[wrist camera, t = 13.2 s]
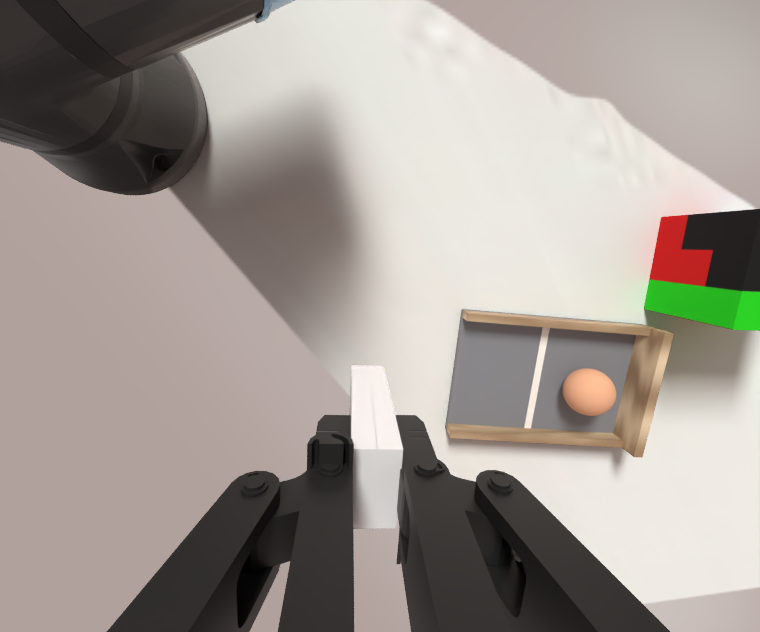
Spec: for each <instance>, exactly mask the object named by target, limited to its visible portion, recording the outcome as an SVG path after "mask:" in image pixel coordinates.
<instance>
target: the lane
mask: <svg viewBox="0 0 760 632" xmlns="http://www.w3.org/2000/svg"><path fill="white" fill-rule="evenodd" d="M463 310H465V309H462V311H461V318H460V326H459V333H458V340H457V347H456V354H455V361H454V368H453V376H452V383H451V390H450V397H449V404H448V411H447V419H446V426H445V428H446V430H447V423H449V424H466V425H483V426H500V427H516V428H533V429H550V430H567V431H584V432H601V433H613V430H614V426H615V422H616V417H617V413H618V409H619V405H620V401H621V396H622V392H623V388H624V384H625V379H626V375H627V371H628V367H629V362H630V358H631V354H632V350H633V346H634V341H635V337H636V335H632V334H620V333H608V332H595V331H583V330H571V329H559V328H546V327H534V326H522V325H510V324H497V323H485V322H473V321H466V320H465V319H464V318H462V316H463ZM466 311H477V310H466ZM478 312H489V311H478ZM490 313H501V312H490ZM502 314H512V313H502ZM514 315H524V314H514ZM526 316H536V315H526ZM538 317H548V316H538ZM550 318H560V317H550ZM562 319H572V318H562ZM574 320H584V319H574ZM586 321H596V320H586ZM598 322H608V321H598ZM609 323H620V322H609ZM621 324H631V323H621ZM633 325H643V324H633ZM645 326H646V325H645ZM583 368H590V369H595V370H598V371H600V372H602V373H604V374H605V375H607V376H608V377H609V378H610V379H611V381H612V382H613V384H614V386H615V389H616V400H615V403H614V405H613V406H612V407H611V409H610V410H608V411H607V412H605V413H603V414H601V415H596V416H588V415H583V414H580V413H578V412H576V411H575V410H573V409H572V408H571V407H570V406H569V405H568V404H567V402H566V401H565V399H564V396H563V383H564V381H565V379H566V378H567V376H568V375H569V374H571V373H572V372H574V371H576V370H578V369H583Z"/></svg>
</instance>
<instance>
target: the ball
mask: <svg viewBox="0 0 760 632" xmlns="http://www.w3.org/2000/svg"><path fill="white" fill-rule="evenodd" d="M563 396H564V399H565V401H566V402H567V404H568V405H569V406H570V407H571V408H572V409H573V410H575V411H576V412H578V413H580V414H583V415H588V416H596V415H601V414H603V413H605V412H607V411H608V410H610V409H611V407H612V406H613V405H614V403H615V400H616V389H615V386H614V384H613V382H612V381H611V379H610V378H609V377H608V376H607V375H605V374H604V373H602V372H600V371H598V370H595V369H590V368H583V369H578V370H576V371H574V372H572V373H571V374H569V375H568V376H567V378H566V379H565V381H564V383H563Z"/></svg>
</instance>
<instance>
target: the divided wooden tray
mask: <svg viewBox="0 0 760 632" xmlns="http://www.w3.org/2000/svg"><path fill="white" fill-rule="evenodd" d="M462 318H464V319H465V320H466V321H473V322H485V323H497V324H510V325H522V326H534V327H546V328H559V329H571V330H583V331H595V332H608V333H620V334H632V335H636V337H635V341H634V346H633V350H632V354H631V358H630V362H629V367H628V371H627V375H626V379H625V384H624V388H623V392H622V396H621V401H620V405H619V409H618V413H617V417H616V422H615V426H614V430H613V433H601V432H584V431H567V430H550V429H533V428H516V427H500V426H483V425H466V424H449V423H447V432H448V434H449V436H450V438H458V439H476V440H494V441H511V442H529V443H547V444H565V445H583V446H600V447H618V448H623V449H624V450H626V451H627V452H628V453H629V454H631V455H632V456H633V457H643V453H644V449H645V445H646V441H647V437H648V433H649V429H650V425H651V422H652V418H653V414H654V410H655V406H656V402H657V398H658V394H659V390H660V387H661V383H662V379H663V375H664V371H665V367H666V363H667V359H668V355H669V352H670V348H671V344H672V340H673V336H674V333H671V332H667V331H664V330H660V329H657V328H653V327H650V326H645V325H633V324H621V323H609V322H598V321H586V320H574V319H562V318H550V317H538V316H526V315H514V314H502V313H490V312H478V311H466V310H463V316H462Z"/></svg>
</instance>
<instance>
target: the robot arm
mask: <svg viewBox="0 0 760 632" xmlns="http://www.w3.org/2000/svg"><path fill="white" fill-rule="evenodd" d="M292 1H294V0H0V141H1V142H4V143H8V144H11V145H15V146H19V147H22V148H26V149H30V150H33V151H34V152H35V153H37V154H38V155H40V156H41V157H42V158H44V159H45V160H47V161H48V162H49V163H51V164H52V165H54V166H55V167H56V168H58V169H59V170H61V171H62V172H64V173H65V174H66V175H68V176H70V177H71V178H73V179H75V180H77V181H79V182H81V183H83V184H85V185H88V186H90V187H93V188H96V189H100V190H104V191H109V192H113V193H118V194H124V195H145V194H150V193H154V192H158V191H160V190H163V189H165V188H167V187H169V186H171V185H173V184H174V183H176V182H177V181H179V180H180V179H181V178H182V177H183V176H184V175H185V174H186V173H187V172H188V171H189V170H190V169H191V167H192V166H193V165H194V163H195V162H196V160H197V158H198V156H199V154H200V152H201V149H202V146H203V143H204V139H205V134H206V126H207V113H206V105H205V100H204V95H203V92H202V89H201V86H200V83H199V81H198V79H197V76H196V74H195V73H194V71H193V69H192V67H191V66H190V64H189V63H188V61H187V60H186V58H185V57H184V56H183V55H182V53H181V51H183V50H186V49H188V48H190V47H193V46H195V45H197V44H200V43H202V42H204V41H207V40H209V39H212V38H214V37H216V36H219V35H221V34H223V33H226V32H228V31H231V30H233V29H235V28H238V27H240V26H242V25H245V24H247V23H249V22H252V21H255V22H256V23H259V22H262V21H264V20H266V19H267V18H268V16H269V14H270V12H272V11H274V10H276V9H278V8H280V7H282V6H284V5H286V4H288V3H290V2H292ZM307 448H308V449H307V471H306V472H305V473H303V474H302V475H300V476H298V477H296V478H294V479H291V480H287V481H283V482H279V478H278V477H276V475H274V474H273V473H269V472H267V471H254V472H250V473H246V474H244V475H242V476H240V477H238V478H237V479H236V480H235V481H233V482H232V483H231V484H230V485H229V487H228V488H227V489H226V490H225V492H224V493H223V494H222V495H221V496H220V497H219V499H218V500H217V501H216V502H215V503H214V505H213V506H212V507H211V508H210V509H209V511H208V512H207V513H206V514H205V515H204V516H203V518H202V519H201V520H200V521H199V523H198V524H197V525H196V526H195V527H194V528H193V530H192V531H191V532H190V533H189V535H188V536H187V537H186V538H185V539H184V540H183V542H182V543H181V544H180V545H179V546H178V548H177V549H176V550H175V551H174V552H173V553H172V555H171V556H170V557H169V558H168V560H167V561H166V562H165V563H164V564H163V566H162V567H161V568H160V569H159V570H158V572H157V573H156V574H155V575H154V576H153V577H152V579H151V580H150V581H149V582H148V583H147V585H146V586H145V587H144V588H143V589H142V590H141V592H140V593H139V594H138V595H137V596H136V598H135V599H134V600H133V601H132V602H131V604H130V605H129V606H128V607H127V608H126V610H125V611H124V612H123V613H122V614H121V616H120V617H119V618H118V619H117V620H116V622H115V623H114V624H113V625H112V626H111V628H110V629H109V630H108V631H107V632H249V631H250V629H251V627H252V625H253V623H254V621H255V619H256V617H257V615H258V613H259V611H260V609H261V606H262V604H263V602H264V600H265V598H266V596H267V594H268V592H269V589H270V588H271V586H272V583H273V581H274V579H275V577H276V575H277V573H278V571H279V567H280V564H282V563H285V562H288V561H290V567H289V573H288V578H287V584H286V589H285V595H284V600H283V606H282V612H281V617H280V623H279V628H278V632H354V574H353V573H354V572H353V571H354V566H353V565H354V564H353V563H354V562H353V529H366V528H367V529H368V528H369V529H371V528H372V529H373V528H397V519H399V526H400V531H399V542H398V543H399V544H398V554H397V564H400V563H401V564H402V571H403V577H404V584H405V591H406V598H407V605H408V612H409V619H410V626H411V632H670V631H669V630H668V629H667V628H666V627H665V626H664V625H663V624H662V623H661V622H660V621H659V620H658V619H657V618H656V617H655V616H654V615H653V614H652V613H651V612H650V611H649V610H648V609H647V608H646V607H645V606H644V605H643V604H642V603H641V602H640V601H639V600H638V599H637V598H636V597H635V596H634V595H633V594H632V593H631V592H630V591H629V590H628V589H627V588H626V587H625V586H624V585H623V584H622V583H621V582H620V581H619V580H618V579H617V578H616V577H615V576H614V575H613V574H612V573H611V572H610V571H609V570H608V569H607V568H606V567H605V566H604V565H603V564H602V563H601V562H600V561H599V560H598V559H597V558H596V557H595V556H594V555H593V554H592V553H591V552H590V551H589V550H588V549H587V548H586V547H585V546H584V545H583V544H582V543H581V542H580V541H579V540H578V539H577V538H576V537H575V536H574V535H573V534H572V533H571V532H570V531H569V530H568V529H567V528H566V527H565V526H564V525H563V524H562V523H561V522H560V521H559V520H558V519H557V518H556V517H555V516H554V515H553V514H552V513H551V512H550V511H549V510H548V509H547V508H546V507H545V506H544V505H543V504H542V503H541V502H540V501H539V500H538V499H537V498H536V497H535V496H534V495H533V494H531V493H530V492H529V491H528V490H527V489H526V488H525V487H524V486H523V485H522V484H521V483H520V482H519V481H518V480H517V479H516V478H514V477H513V476H511V475H509V474H507V473H504V472H501V471H496V470H486V471H484V472H481V473H480V474H479V475H478V476H477V478H476V482H474V481H469V480H465V479H461V478H458V477H455V476H453V475H451V474H450V472H449V470H448V468H447V467H446V465H445V464H444V463H443V462H441V461H440V460H438V459H437V457H436V455H435V452H434V449H433V447H432V444H431V441H430V438H429V436H428V433H427V430H426V428H425V425H424V422H423V421H421V420H420V419H419V418H418V417H417V416H416V415H395V412H394V407H393V403H392V399H391V394H390V390H389V386H388V381H387V377H386V373H385V368H384V366H364V365H352V368H351V392H350V415H324V416H323V417H322V419H321V420H320V421H319V422H318V426H317V432H316V435H315V436H314V437H312V438H311V439H310V441H309V442H308V447H307Z"/></svg>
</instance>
